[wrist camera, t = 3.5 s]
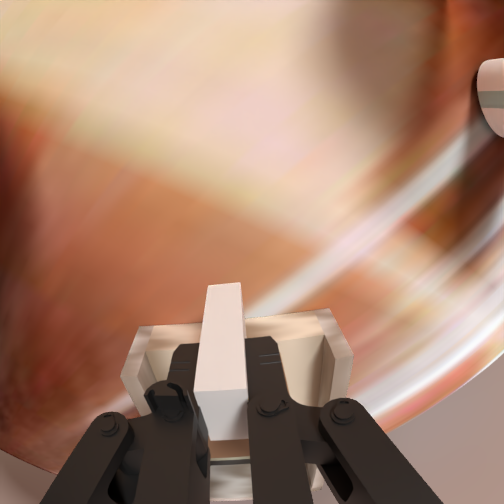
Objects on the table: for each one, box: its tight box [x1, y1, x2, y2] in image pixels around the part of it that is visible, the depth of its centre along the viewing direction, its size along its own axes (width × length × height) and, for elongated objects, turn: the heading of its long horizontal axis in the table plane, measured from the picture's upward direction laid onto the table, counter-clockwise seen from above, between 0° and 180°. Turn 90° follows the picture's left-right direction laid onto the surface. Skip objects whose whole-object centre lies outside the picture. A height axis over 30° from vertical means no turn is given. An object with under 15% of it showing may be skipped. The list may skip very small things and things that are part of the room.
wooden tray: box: [120, 308, 354, 501], centre depth 23 cm, size 14×23×6 cm, turn 5°
